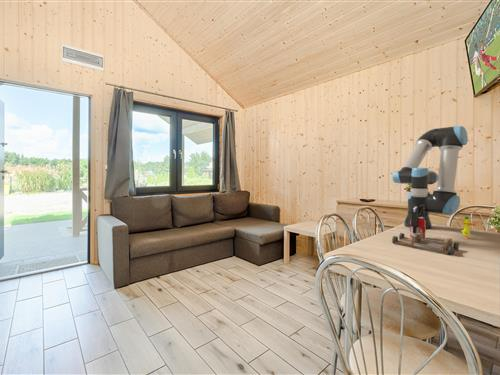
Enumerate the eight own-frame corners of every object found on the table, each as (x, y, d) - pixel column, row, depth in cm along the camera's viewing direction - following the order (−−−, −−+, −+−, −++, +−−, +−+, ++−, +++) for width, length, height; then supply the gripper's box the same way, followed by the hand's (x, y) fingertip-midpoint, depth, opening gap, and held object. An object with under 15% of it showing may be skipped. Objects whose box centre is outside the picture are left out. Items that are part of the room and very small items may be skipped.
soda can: (424, 241, 136) (425, 218, 135) (409, 239, 140) (409, 217, 139) (425, 238, 142) (426, 216, 141) (410, 236, 146) (411, 215, 145)
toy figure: (475, 238, 139) (477, 217, 138) (475, 240, 136) (477, 218, 135) (459, 236, 143) (461, 215, 143) (459, 238, 141) (460, 216, 140)
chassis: (401, 238, 140) (402, 229, 140) (458, 249, 122) (459, 238, 121) (391, 243, 132) (392, 233, 132) (451, 255, 113) (452, 244, 113)
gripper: (417, 194, 148) (416, 233, 150) (404, 197, 136) (402, 239, 137) (432, 195, 143) (431, 235, 144) (420, 198, 130) (419, 242, 132)
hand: (417, 237), depth 141 cm, fingers closed on soda can, 7 cm apart
